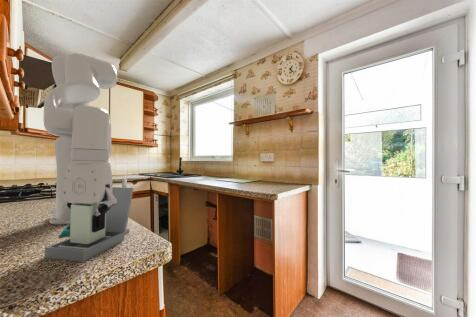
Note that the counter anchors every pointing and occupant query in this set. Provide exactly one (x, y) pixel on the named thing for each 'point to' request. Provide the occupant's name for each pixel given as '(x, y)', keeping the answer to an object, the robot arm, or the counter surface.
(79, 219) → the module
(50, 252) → the case
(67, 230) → the digital multimeter
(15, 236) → the counter surface
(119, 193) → the lid
